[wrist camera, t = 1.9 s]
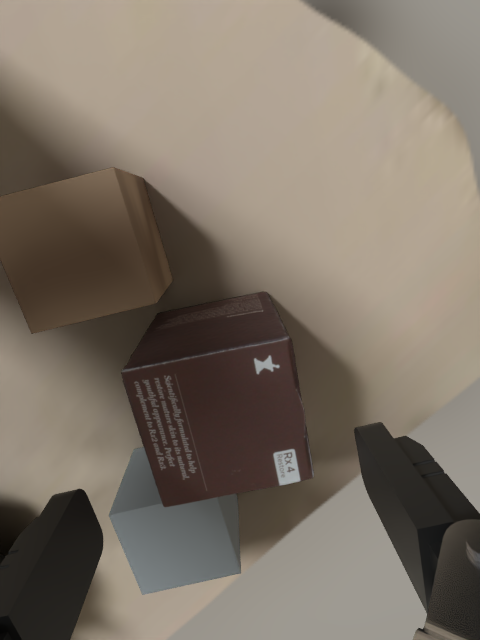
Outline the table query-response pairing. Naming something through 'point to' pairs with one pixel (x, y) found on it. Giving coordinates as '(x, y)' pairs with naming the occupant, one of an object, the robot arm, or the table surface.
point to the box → (219, 401)
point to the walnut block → (82, 248)
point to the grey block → (173, 533)
